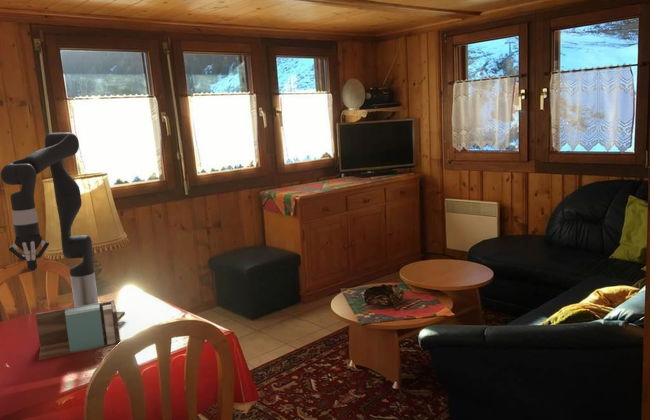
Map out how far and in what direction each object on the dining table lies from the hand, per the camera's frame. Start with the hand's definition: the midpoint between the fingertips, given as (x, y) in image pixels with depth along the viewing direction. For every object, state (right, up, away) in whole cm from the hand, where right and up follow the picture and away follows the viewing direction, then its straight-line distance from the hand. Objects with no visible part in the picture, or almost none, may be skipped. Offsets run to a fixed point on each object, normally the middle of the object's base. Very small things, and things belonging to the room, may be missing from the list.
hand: (32, 270), depth 193 cm
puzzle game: (+12, -25, +23) cm, 36 cm away
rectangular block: (+19, -27, +1) cm, 33 cm away
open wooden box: (+15, -28, +3) cm, 32 cm away
